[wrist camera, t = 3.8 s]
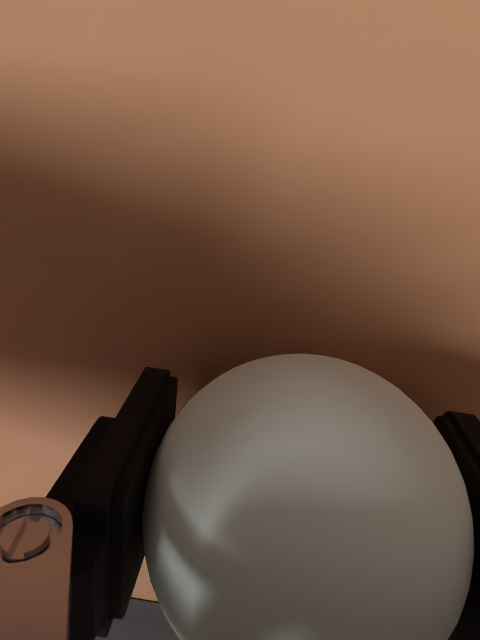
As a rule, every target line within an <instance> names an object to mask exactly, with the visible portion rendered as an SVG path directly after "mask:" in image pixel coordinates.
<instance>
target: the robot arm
mask: <svg viewBox="0 0 480 640" xmlns="http://www.w3.org/2000/svg"><path fill="white" fill-rule="evenodd" d="M177 384H178V379H177V377H170V371H169V370H164V369H157V368H150V367H146V368H145V369H144V371H143V373H142V374H141V376H140V378H139V379H138V381H137V383H136V384H135V386H134V388H133V389H132V391H131V393H130V394H129V396H128V398H127V399H126V401H125V403H124V404H123V406H122V408H121V409H120V411H119V413H118V414H117V416H116V418H111V417H104V416H102V417H99V418H98V419H97V421H96V422H95V423H94V425H93V426H92V428H91V430H90V431H89V433H88V434H87V436H86V437H85V439H84V440H83V442H82V443H81V445H80V446H79V448H78V449H77V451H76V452H75V454H74V455H73V457H72V458H71V460H70V461H69V463H68V464H67V466H66V467H65V469H64V470H63V472H62V473H61V475H60V476H59V478H58V479H57V481H56V482H55V484H54V485H53V487H52V488H51V490H50V491H49V493H48V495H47V496H46V497H30V498H25V499H21V500H16V501H14V502H12V503H9V504H7V505H5V506H2V507H1V508H0V640H95V637H96V636H97V637H103V638H107V636H108V633H109V630H110V628H111V625H112V622H113V619H114V618H115V619H121V620H122V619H123V618H124V616H125V613H126V611H127V608H128V605H129V601H130V598H131V595H132V592H133V589H134V586H135V583H136V580H137V577H138V574H139V571H140V568H141V565H142V562H143V559H144V556H145V553H144V544H143V523H142V513H143V505H144V497H145V490H146V485H147V480H148V476H149V473H150V469H151V466H152V463H153V459H154V456H155V453H156V451H157V449H158V447H159V445H160V443H161V441H162V439H163V437H164V435H165V433H166V431H167V429H168V427H169V426H170V424H171V423H172V422H173V420H174V419H175V411H176V397H177ZM433 424H434V425H435V427H436V428H437V430H438V431H439V433H440V434H441V436H442V437H443V439H444V440H445V442H446V444H447V445H448V447H449V449H450V450H451V452H452V454H453V457H454V459H455V461H456V463H457V466H458V468H459V471H460V473H461V475H462V478H463V480H464V483H465V487H466V491H467V495H468V499H469V504H470V508H471V513H472V518H473V533H474V560H473V568H472V575H471V582H470V588H469V592H468V595H467V598H466V601H465V604H464V607H463V610H462V613H461V615H460V618H459V621H458V623H457V625H456V627H455V628H454V630H453V632H452V633H451V635H450V637H449V639H448V640H480V421H479V420H478V419H477V417H476V416H475V415H472V414H466V413H459V412H452V411H447V412H445V413H444V415H443V416H437V417H436V419H435V421H434V423H433Z"/></svg>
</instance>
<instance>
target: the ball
mask: <svg viewBox="0 0 480 640" xmlns="http://www.w3.org/2000/svg"><path fill="white" fill-rule="evenodd" d="M142 523H143V544H144V553H145V557H146V562H147V567H148V571H149V576H150V580H151V583H152V586H153V589H154V591H155V594H156V596H157V599H158V601H159V604H160V606H161V608H162V611H163V613H164V615H165V617H166V618H167V620H168V622H169V624H170V625H171V627H172V628H173V630H174V632H175V633H176V635H177V636H178V638H179V639H180V640H448V639H449V637H450V635H451V633H452V632H453V630H454V628H455V627H456V625H457V623H458V621H459V618H460V615H461V613H462V610H463V607H464V604H465V601H466V598H467V595H468V592H469V588H470V582H471V575H472V568H473V560H474V533H473V518H472V513H471V508H470V504H469V499H468V495H467V491H466V487H465V483H464V480H463V478H462V475H461V473H460V471H459V468H458V466H457V463H456V461H455V459H454V457H453V454H452V452H451V450H450V449H449V447H448V445H447V444H446V442H445V440H444V439H443V437H442V436H441V434H440V433H439V431H438V430H437V428H436V427H435V425H434V424H433V422H432V421H431V420H430V419H429V418H428V417H427V415H426V414H425V413H424V412H423V411H422V410H421V408H420V407H418V406H417V405H416V404H415V403H414V402H413V401H412V400H411V399H410V398H409V397H408V396H407V395H405V394H404V393H403V392H402V391H401V390H400V389H398V388H397V387H396V386H394V385H393V384H391V383H390V382H388V381H387V380H385V379H384V378H382V377H380V376H379V375H377V374H375V373H373V372H371V371H369V370H367V369H365V368H363V367H361V366H359V365H357V364H354V363H351V362H348V361H345V360H342V359H338V358H333V357H328V356H323V355H314V354H282V355H275V356H268V357H264V358H260V359H256V360H253V361H249V362H247V363H244V364H242V365H239V366H237V367H235V368H232V369H231V370H229V371H227V372H225V373H224V374H222V375H220V376H218V377H217V378H216V379H214V380H213V381H211V382H210V383H209V384H207V385H206V386H205V387H204V388H202V389H201V390H200V391H198V392H197V393H196V394H195V395H194V396H193V397H192V398H191V399H190V400H189V401H188V402H187V403H186V405H185V406H184V407H183V408H182V409H181V411H180V412H179V413H178V415H177V416H176V417H175V419H174V420H173V422H172V423H171V424H170V426H169V427H168V429H167V431H166V433H165V435H164V437H163V439H162V441H161V443H160V445H159V447H158V449H157V451H156V453H155V456H154V459H153V463H152V466H151V469H150V473H149V476H148V480H147V485H146V490H145V497H144V505H143V513H142Z"/></svg>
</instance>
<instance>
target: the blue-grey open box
mask: <svg viewBox="0 0 480 640" xmlns="http://www.w3.org/2000/svg"><path fill="white" fill-rule="evenodd" d="M95 640H180V639H179V638H178V636H177V635H176V633H175V632H174V630H173V628H172V627H171V625H170V624H169V622H168V620H167V618H166V617H165V615H164V613H163V611H162V608H161V606H160V604H159V603H155V602H149V601H143V600H137V599H131V598H130V601H129V605H128V608H127V611H126V613H125V616H124V618H123V619H122V620H121V619H115V618H114V619H113V622H112V625H111V628H110V630H109V633H108V636H107V638H103V637H97V636H96V637H95Z"/></svg>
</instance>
